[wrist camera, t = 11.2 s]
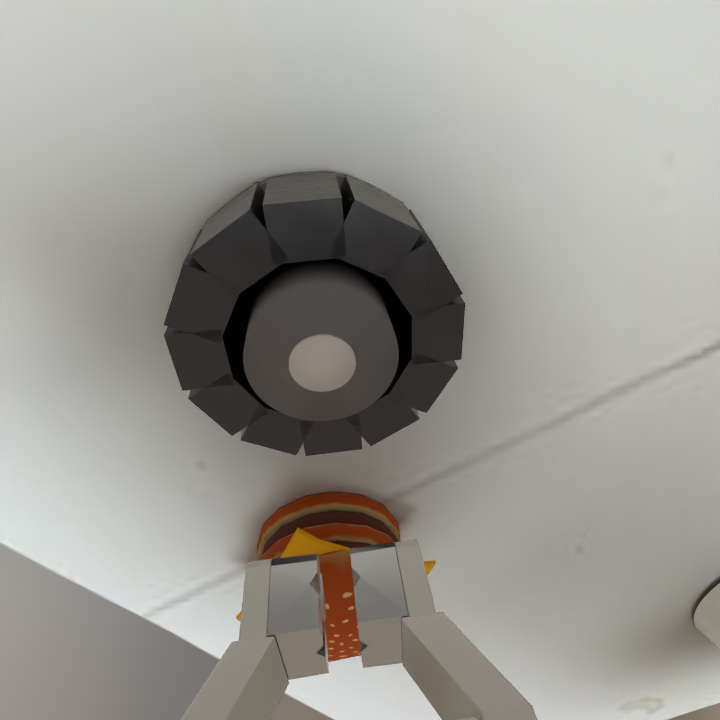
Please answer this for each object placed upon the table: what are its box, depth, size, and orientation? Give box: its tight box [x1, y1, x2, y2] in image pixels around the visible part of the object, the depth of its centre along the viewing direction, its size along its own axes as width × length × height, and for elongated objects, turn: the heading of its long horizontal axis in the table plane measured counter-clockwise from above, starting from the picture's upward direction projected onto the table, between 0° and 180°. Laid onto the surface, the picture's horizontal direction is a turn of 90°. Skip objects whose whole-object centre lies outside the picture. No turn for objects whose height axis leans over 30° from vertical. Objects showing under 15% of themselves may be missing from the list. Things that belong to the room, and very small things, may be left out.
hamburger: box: [236, 492, 436, 662], centre depth 28 cm, size 9×10×7 cm
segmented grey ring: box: [164, 172, 465, 456], centre depth 20 cm, size 11×11×4 cm
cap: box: [243, 258, 399, 421], centre depth 19 cm, size 6×6×5 cm
